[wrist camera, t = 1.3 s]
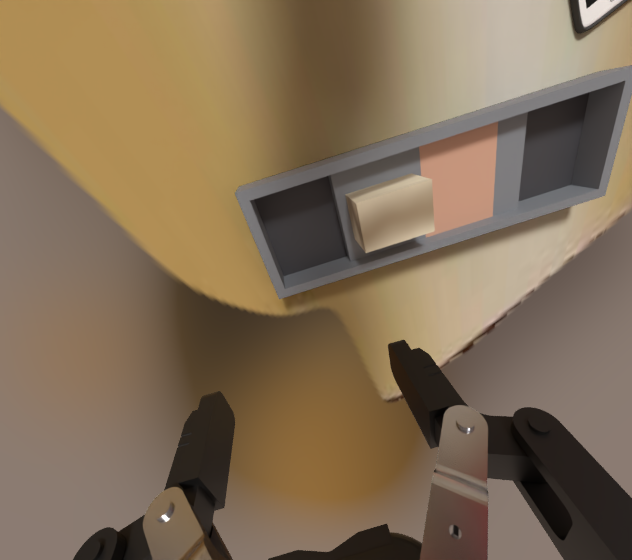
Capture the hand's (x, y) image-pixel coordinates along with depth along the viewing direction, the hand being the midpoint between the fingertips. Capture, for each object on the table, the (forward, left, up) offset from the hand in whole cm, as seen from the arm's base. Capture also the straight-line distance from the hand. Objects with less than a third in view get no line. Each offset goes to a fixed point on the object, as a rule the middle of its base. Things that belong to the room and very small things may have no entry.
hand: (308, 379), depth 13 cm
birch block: (0, +11, -19) cm, 21 cm away
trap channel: (0, +16, -21) cm, 26 cm away
